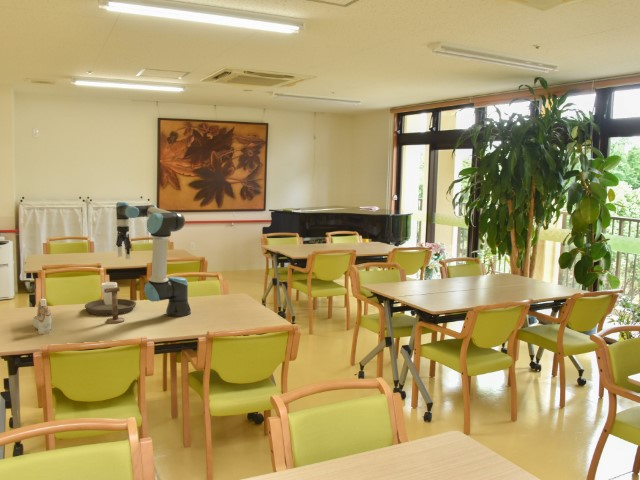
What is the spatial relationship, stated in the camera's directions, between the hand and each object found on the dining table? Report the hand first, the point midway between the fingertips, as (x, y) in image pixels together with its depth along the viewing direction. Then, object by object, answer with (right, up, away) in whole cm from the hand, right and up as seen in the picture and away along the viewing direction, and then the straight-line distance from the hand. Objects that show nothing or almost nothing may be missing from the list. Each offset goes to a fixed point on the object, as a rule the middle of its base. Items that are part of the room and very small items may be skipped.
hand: (123, 257), depth 385 cm
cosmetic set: (-28, -38, -54) cm, 72 cm away
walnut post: (+7, -37, -37) cm, 53 cm away
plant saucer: (-5, -34, -10) cm, 35 cm away
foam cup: (-5, -29, -11) cm, 31 cm away
